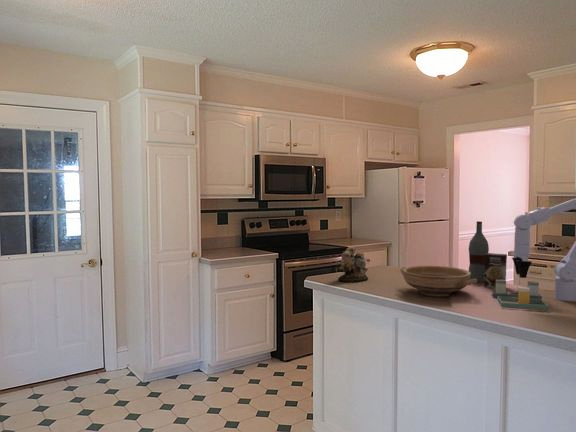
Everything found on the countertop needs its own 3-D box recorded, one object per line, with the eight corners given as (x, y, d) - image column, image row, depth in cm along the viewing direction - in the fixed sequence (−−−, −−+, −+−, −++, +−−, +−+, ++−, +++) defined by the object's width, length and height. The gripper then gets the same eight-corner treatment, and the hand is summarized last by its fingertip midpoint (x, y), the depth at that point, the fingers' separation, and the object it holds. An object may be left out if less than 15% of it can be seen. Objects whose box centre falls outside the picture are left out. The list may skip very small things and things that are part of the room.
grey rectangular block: (536, 298, 189) (537, 281, 188) (538, 299, 187) (538, 282, 186) (527, 298, 190) (527, 281, 190) (528, 299, 188) (528, 282, 187)
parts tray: (541, 305, 182) (541, 298, 182) (548, 312, 171) (548, 305, 171) (497, 302, 187) (497, 296, 187) (501, 309, 176) (501, 302, 176)
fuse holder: (539, 300, 191) (539, 293, 190) (543, 303, 184) (543, 296, 184) (491, 297, 196) (491, 290, 196) (493, 300, 190) (493, 293, 189)
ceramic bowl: (493, 296, 197) (493, 273, 197) (455, 306, 180) (455, 281, 179) (420, 282, 227) (421, 262, 226) (382, 290, 209) (382, 268, 209)
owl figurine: (347, 284, 223) (347, 249, 222) (331, 280, 233) (331, 247, 232) (373, 279, 234) (373, 246, 233) (357, 276, 243) (357, 244, 242)
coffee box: (483, 289, 212) (484, 254, 211) (484, 286, 218) (485, 252, 217) (505, 291, 208) (506, 255, 207) (506, 288, 213) (507, 253, 212)
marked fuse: (528, 305, 179) (528, 287, 179) (529, 306, 177) (529, 288, 177) (517, 304, 181) (518, 286, 180) (518, 306, 178) (519, 288, 178)
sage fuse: (504, 296, 192) (505, 280, 192) (505, 297, 190) (506, 281, 190) (495, 296, 193) (495, 279, 193) (496, 297, 191) (496, 280, 191)
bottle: (481, 284, 221) (482, 222, 220) (464, 281, 229) (465, 221, 227) (491, 282, 227) (493, 221, 225) (474, 279, 234) (476, 220, 233)
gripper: (508, 241, 200) (507, 272, 201) (514, 245, 186) (513, 278, 187) (526, 242, 198) (525, 273, 199) (534, 245, 185) (533, 279, 185)
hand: (521, 276), depth 193 cm, fingers open, 7 cm apart
